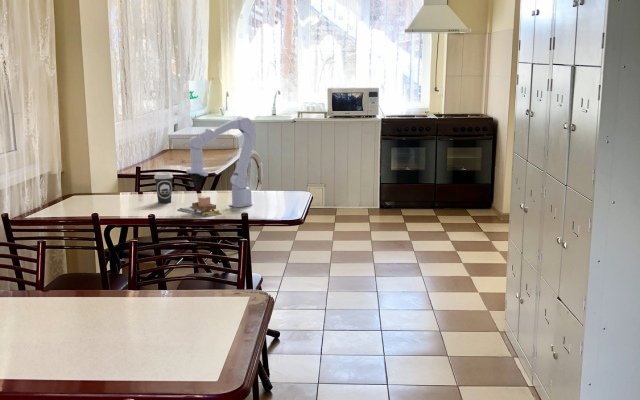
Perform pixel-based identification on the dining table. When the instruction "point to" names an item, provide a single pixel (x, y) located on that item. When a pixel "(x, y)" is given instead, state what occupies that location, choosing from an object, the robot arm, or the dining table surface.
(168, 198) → the coffee cup
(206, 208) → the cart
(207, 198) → the block
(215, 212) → the rail
